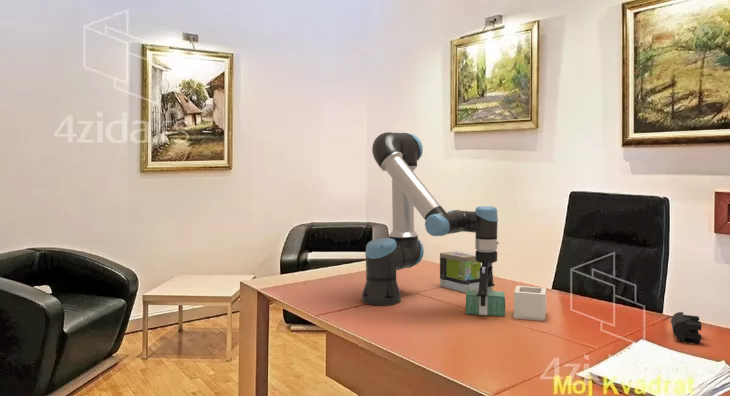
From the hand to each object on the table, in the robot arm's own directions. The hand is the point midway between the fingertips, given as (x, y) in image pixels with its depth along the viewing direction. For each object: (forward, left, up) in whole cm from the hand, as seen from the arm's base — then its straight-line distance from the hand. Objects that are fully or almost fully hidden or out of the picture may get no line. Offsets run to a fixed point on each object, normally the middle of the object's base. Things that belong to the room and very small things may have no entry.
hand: (486, 309), depth 187 cm
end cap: (+60, -9, -1) cm, 61 cm away
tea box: (-15, +31, -1) cm, 34 cm away
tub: (+15, 0, -1) cm, 15 cm away
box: (0, -1, -1) cm, 2 cm away
